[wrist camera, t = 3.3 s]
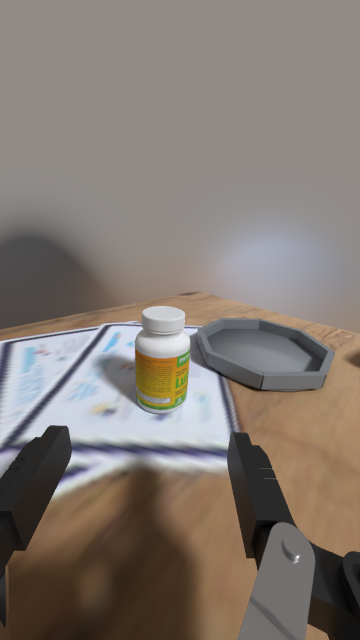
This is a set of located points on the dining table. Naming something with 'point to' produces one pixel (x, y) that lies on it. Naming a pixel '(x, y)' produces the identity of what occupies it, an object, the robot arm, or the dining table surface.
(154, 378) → the supplement bottle
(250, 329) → the dish
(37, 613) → the dining table surface
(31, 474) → the robot arm
